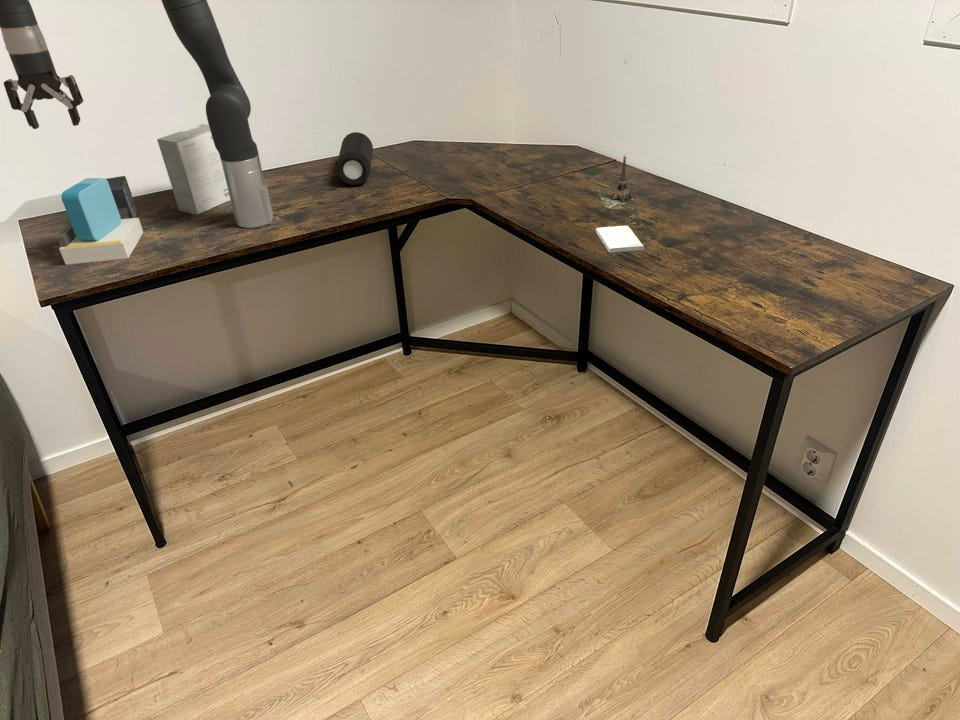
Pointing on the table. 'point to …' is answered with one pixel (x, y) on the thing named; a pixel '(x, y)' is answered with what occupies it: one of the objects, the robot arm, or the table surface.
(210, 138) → the hard drive box
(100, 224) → the data package
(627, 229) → the hard drive
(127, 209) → the small box
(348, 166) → the portable speaker
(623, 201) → the eiffel tower figurine
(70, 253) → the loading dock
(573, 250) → the table surface
